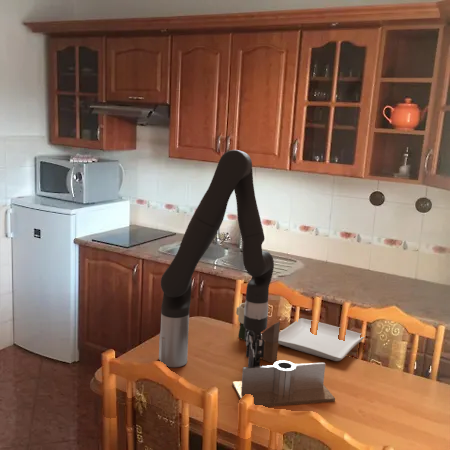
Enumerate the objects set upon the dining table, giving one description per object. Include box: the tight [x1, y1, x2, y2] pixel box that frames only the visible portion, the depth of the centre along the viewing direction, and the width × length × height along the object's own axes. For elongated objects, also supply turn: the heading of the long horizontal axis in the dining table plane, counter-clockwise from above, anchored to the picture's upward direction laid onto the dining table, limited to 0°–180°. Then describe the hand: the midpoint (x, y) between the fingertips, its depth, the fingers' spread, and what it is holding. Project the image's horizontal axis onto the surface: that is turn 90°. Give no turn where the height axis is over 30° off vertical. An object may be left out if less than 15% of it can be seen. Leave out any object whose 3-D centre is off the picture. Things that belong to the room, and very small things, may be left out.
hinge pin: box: [247, 344, 256, 367], centre depth 172 cm, size 3×3×10 cm
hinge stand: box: [232, 360, 336, 408], centre depth 161 cm, size 28×14×9 cm, turn 103°
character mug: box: [235, 302, 245, 341], centre depth 200 cm, size 11×7×13 cm, turn 50°
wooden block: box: [258, 321, 281, 364], centre depth 184 cm, size 4×11×18 cm, turn 52°
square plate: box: [278, 317, 364, 362], centre depth 199 cm, size 27×27×4 cm
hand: (252, 361), depth 172 cm, fingers open, 7 cm apart
